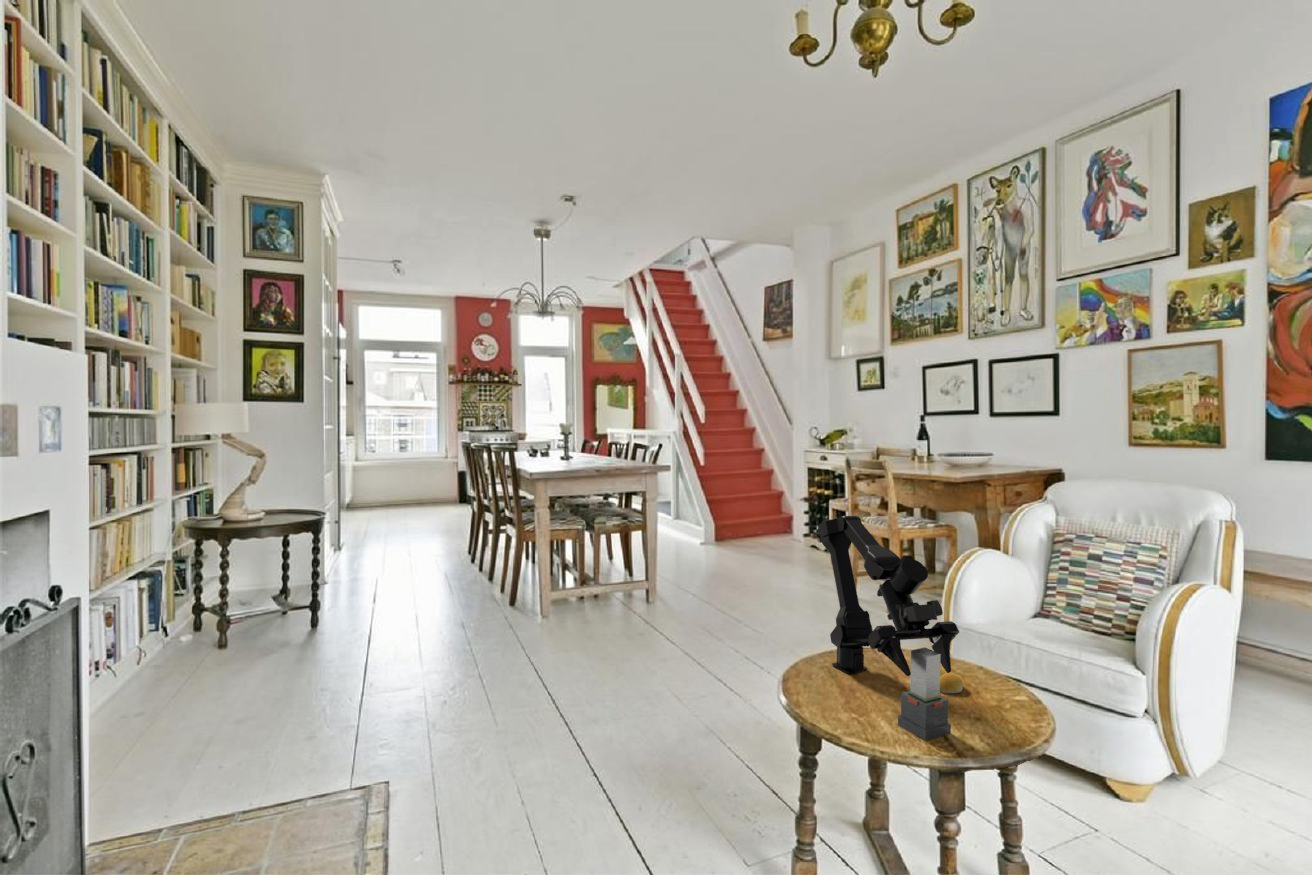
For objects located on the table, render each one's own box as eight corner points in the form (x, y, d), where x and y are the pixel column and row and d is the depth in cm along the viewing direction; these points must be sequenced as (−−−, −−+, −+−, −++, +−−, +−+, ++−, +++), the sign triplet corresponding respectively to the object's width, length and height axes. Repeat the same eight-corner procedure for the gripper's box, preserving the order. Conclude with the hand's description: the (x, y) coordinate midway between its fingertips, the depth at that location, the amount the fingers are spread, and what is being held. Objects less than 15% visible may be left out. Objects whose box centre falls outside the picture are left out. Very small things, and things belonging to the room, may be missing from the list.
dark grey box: (897, 724, 134) (898, 692, 134) (922, 717, 137) (923, 686, 137) (925, 740, 128) (926, 706, 127) (950, 733, 131) (951, 700, 131)
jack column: (909, 701, 133) (910, 650, 133) (923, 697, 135) (924, 647, 135) (925, 710, 130) (926, 657, 129) (939, 706, 131) (941, 653, 131)
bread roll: (954, 698, 148) (954, 681, 147) (917, 685, 154) (917, 669, 154) (969, 688, 153) (969, 671, 153) (932, 676, 160) (933, 660, 160)
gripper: (876, 588, 133) (904, 660, 123) (955, 584, 137) (989, 654, 127) (856, 613, 142) (882, 683, 131) (931, 609, 145) (962, 676, 135)
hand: (929, 673), depth 131 cm, fingers open, 9 cm apart
